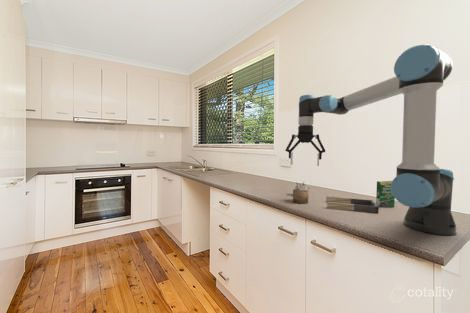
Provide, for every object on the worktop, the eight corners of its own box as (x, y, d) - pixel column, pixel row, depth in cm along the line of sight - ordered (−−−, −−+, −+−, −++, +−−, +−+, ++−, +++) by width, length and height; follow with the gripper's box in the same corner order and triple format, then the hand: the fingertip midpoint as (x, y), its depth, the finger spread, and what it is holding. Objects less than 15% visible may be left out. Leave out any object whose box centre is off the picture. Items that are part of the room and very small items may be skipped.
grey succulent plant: (303, 202, 135) (310, 191, 129) (290, 196, 136) (296, 185, 130) (305, 192, 142) (312, 181, 136) (292, 187, 143) (298, 176, 137)
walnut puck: (308, 204, 116) (308, 193, 116) (292, 203, 119) (292, 192, 118) (308, 200, 124) (308, 190, 124) (293, 199, 126) (293, 189, 126)
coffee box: (378, 207, 112) (380, 181, 112) (375, 205, 115) (376, 180, 114) (394, 207, 112) (396, 181, 112) (390, 205, 115) (392, 180, 114)
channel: (378, 213, 102) (378, 207, 102) (326, 208, 110) (327, 202, 110) (372, 206, 115) (372, 200, 114) (326, 201, 122) (326, 196, 122)
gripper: (330, 125, 117) (329, 165, 118) (283, 126, 126) (282, 163, 127) (331, 124, 110) (330, 167, 111) (280, 125, 119) (279, 164, 120)
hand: (304, 165), depth 119 cm, fingers open, 13 cm apart
